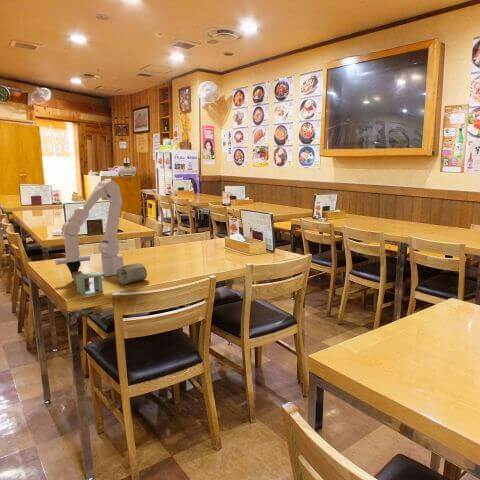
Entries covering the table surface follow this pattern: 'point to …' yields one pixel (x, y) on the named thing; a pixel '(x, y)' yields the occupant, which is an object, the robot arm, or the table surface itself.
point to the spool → (131, 273)
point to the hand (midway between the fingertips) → (74, 278)
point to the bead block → (81, 278)
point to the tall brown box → (84, 279)
